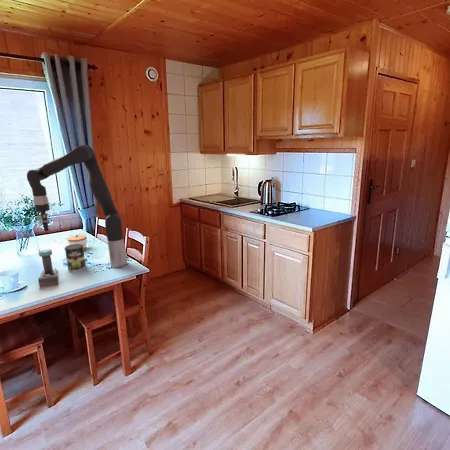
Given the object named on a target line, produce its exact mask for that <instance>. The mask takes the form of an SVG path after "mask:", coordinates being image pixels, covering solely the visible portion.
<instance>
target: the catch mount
mask: <svg viewBox="0 0 450 450" xmlns="http://www.w3.org/2000/svg"><path fill="white" fill-rule="evenodd" d="M53 270H54V275H50V274H47V275H45V276H44V269H43V270H41V272H40V276H39V277H38V285H39V289H44V288H49V287H55V285H56V286H59V270H58V269H57V268H54V269H53Z"/></svg>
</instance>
